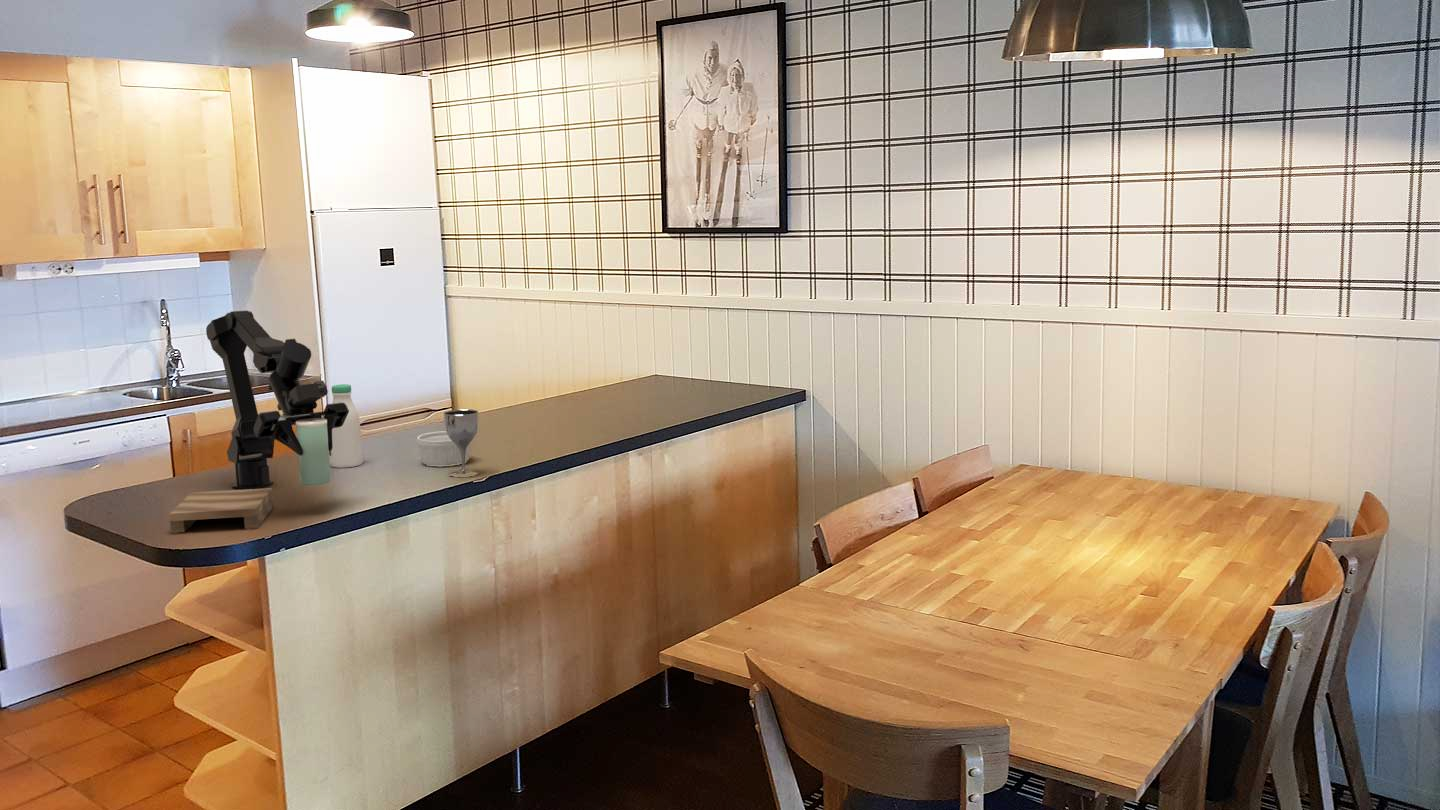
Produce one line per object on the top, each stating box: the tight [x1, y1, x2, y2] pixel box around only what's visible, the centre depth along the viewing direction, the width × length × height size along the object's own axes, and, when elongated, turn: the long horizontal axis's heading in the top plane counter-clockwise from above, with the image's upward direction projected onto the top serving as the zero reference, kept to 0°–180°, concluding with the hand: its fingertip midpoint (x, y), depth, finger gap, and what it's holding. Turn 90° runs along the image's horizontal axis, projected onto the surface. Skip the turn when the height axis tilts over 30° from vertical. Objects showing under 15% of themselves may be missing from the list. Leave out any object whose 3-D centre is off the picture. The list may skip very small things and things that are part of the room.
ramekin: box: [416, 430, 472, 465], centre depth 289 cm, size 13×13×7 cm
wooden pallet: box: [169, 487, 274, 534], centre depth 237 cm, size 18×16×4 cm
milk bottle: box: [329, 384, 363, 469], centre depth 287 cm, size 8×8×20 cm
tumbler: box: [295, 418, 332, 486], centre depth 240 cm, size 6×6×13 cm
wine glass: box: [443, 408, 479, 474], centre depth 275 cm, size 8×8×15 cm
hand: (316, 451), depth 239 cm, fingers closed on tumbler, 6 cm apart
